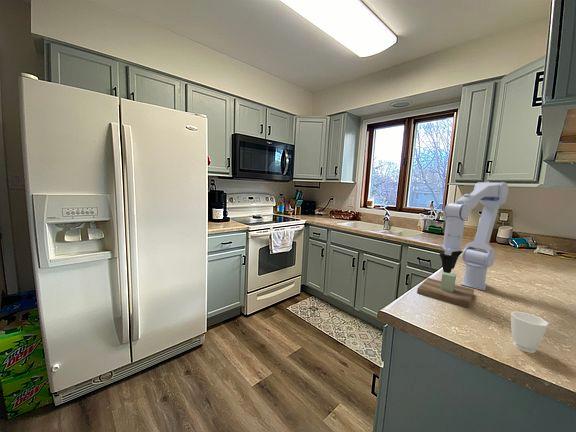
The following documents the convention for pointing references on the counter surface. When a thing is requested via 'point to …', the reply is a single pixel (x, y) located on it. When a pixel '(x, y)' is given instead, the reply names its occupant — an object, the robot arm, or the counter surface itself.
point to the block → (448, 281)
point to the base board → (446, 293)
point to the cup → (527, 331)
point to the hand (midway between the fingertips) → (448, 270)
